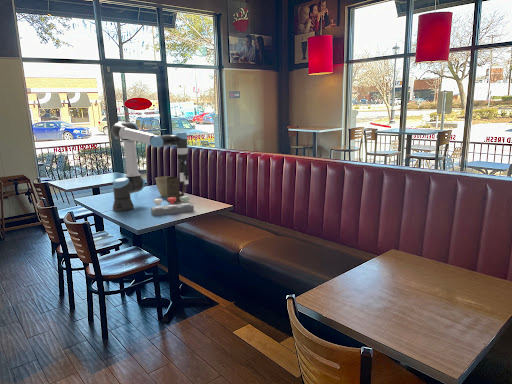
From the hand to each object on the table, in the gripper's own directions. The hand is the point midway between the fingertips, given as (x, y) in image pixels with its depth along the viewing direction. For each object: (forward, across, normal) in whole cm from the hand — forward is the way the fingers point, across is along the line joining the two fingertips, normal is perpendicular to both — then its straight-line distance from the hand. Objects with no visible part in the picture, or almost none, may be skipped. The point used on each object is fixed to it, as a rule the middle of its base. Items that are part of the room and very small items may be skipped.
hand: (184, 182), depth 273 cm
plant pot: (+21, +60, +4) cm, 64 cm away
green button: (+15, 0, 0) cm, 15 cm away
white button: (+14, 0, +20) cm, 24 cm away
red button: (+15, 0, +10) cm, 17 cm away
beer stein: (+21, +37, -1) cm, 42 cm away
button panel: (+21, 0, +10) cm, 23 cm away
